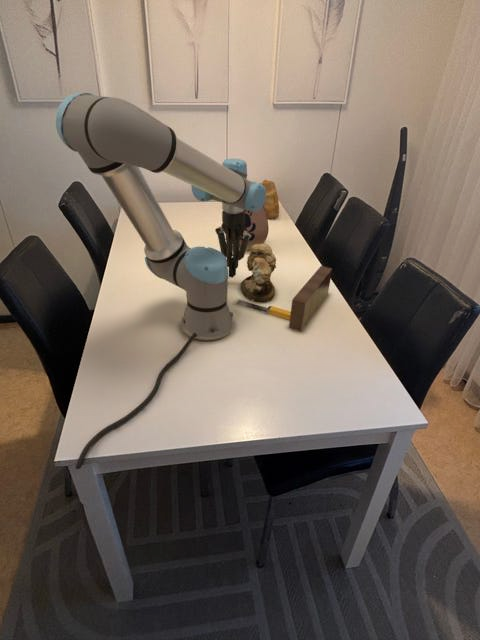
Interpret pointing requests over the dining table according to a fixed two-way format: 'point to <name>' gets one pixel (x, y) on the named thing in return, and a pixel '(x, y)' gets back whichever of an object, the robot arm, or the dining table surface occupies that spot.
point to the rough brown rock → (271, 199)
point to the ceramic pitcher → (256, 227)
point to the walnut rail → (310, 298)
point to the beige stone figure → (259, 274)
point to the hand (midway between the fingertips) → (232, 275)
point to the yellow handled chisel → (266, 309)
